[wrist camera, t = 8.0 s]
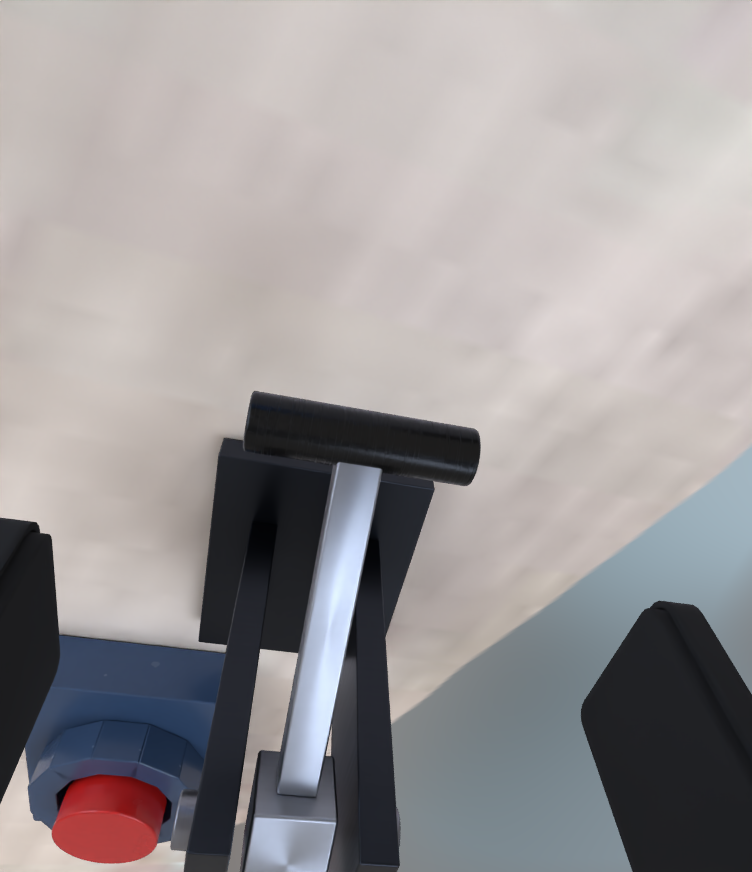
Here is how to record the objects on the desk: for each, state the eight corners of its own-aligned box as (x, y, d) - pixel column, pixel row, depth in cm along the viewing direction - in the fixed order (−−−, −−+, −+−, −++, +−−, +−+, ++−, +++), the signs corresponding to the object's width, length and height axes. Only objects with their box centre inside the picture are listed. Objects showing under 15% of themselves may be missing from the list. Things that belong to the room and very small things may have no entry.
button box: (43, 632, 29) (-4, 723, 25) (243, 654, 30) (228, 744, 26) (53, 769, 34) (17, 860, 30) (222, 782, 36) (207, 872, 32)
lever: (256, 384, 16) (248, 398, 14) (465, 420, 17) (491, 440, 14) (186, 827, 18) (169, 903, 16) (372, 840, 19) (381, 915, 17)
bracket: (224, 437, 23) (117, 778, 13) (431, 470, 25) (496, 809, 14) (203, 620, 29) (115, 975, 18) (376, 641, 30) (392, 986, 19)
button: (64, 766, 27) (48, 808, 26) (169, 774, 28) (159, 816, 26) (67, 819, 29) (53, 861, 28) (165, 826, 30) (155, 867, 29)
